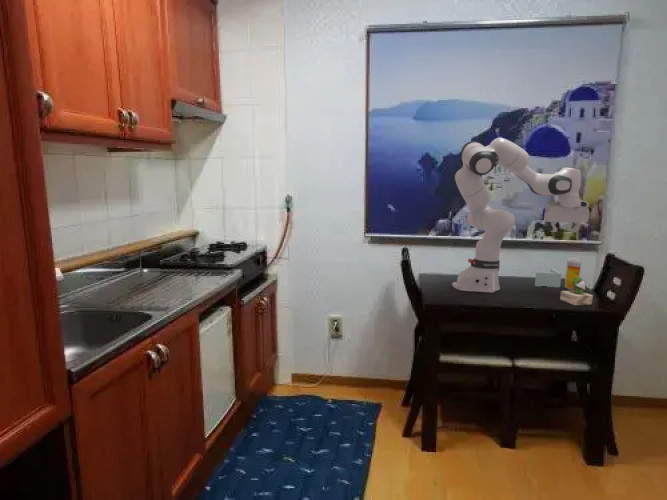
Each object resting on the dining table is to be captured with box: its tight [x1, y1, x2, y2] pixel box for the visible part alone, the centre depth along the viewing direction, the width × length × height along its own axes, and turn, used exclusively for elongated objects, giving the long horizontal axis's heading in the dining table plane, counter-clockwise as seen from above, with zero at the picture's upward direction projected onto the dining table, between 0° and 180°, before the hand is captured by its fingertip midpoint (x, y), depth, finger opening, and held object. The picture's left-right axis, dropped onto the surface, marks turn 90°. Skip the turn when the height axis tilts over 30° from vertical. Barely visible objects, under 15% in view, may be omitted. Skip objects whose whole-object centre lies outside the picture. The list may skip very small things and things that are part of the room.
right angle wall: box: [534, 268, 563, 288], centre depth 246 cm, size 12×12×8 cm
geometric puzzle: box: [569, 277, 586, 293], centre depth 214 cm, size 7×7×8 cm
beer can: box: [564, 257, 582, 291], centre depth 237 cm, size 6×6×15 cm
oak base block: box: [559, 290, 594, 306], centre depth 214 cm, size 9×9×4 cm
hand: (564, 231), depth 226 cm, fingers open, 8 cm apart
